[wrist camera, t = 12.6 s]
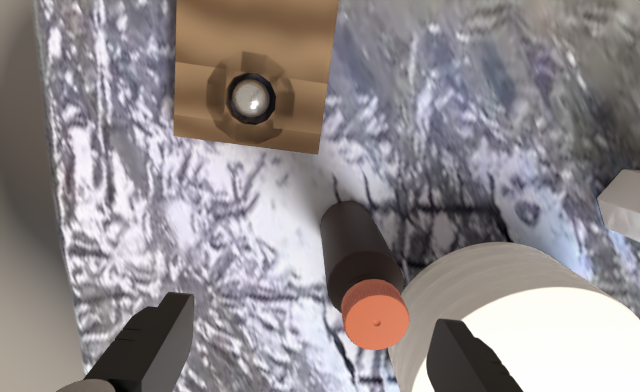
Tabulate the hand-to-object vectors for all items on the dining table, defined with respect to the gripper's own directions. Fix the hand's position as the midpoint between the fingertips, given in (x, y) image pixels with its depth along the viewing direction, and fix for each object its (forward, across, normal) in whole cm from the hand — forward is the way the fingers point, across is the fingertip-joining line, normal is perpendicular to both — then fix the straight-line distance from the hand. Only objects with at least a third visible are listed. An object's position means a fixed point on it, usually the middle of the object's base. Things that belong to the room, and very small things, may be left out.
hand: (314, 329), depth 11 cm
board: (+32, +7, -11) cm, 35 cm away
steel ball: (+30, +7, -6) cm, 31 cm away
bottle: (+32, -6, +8) cm, 34 cm away
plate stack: (+32, -28, +22) cm, 48 cm away
